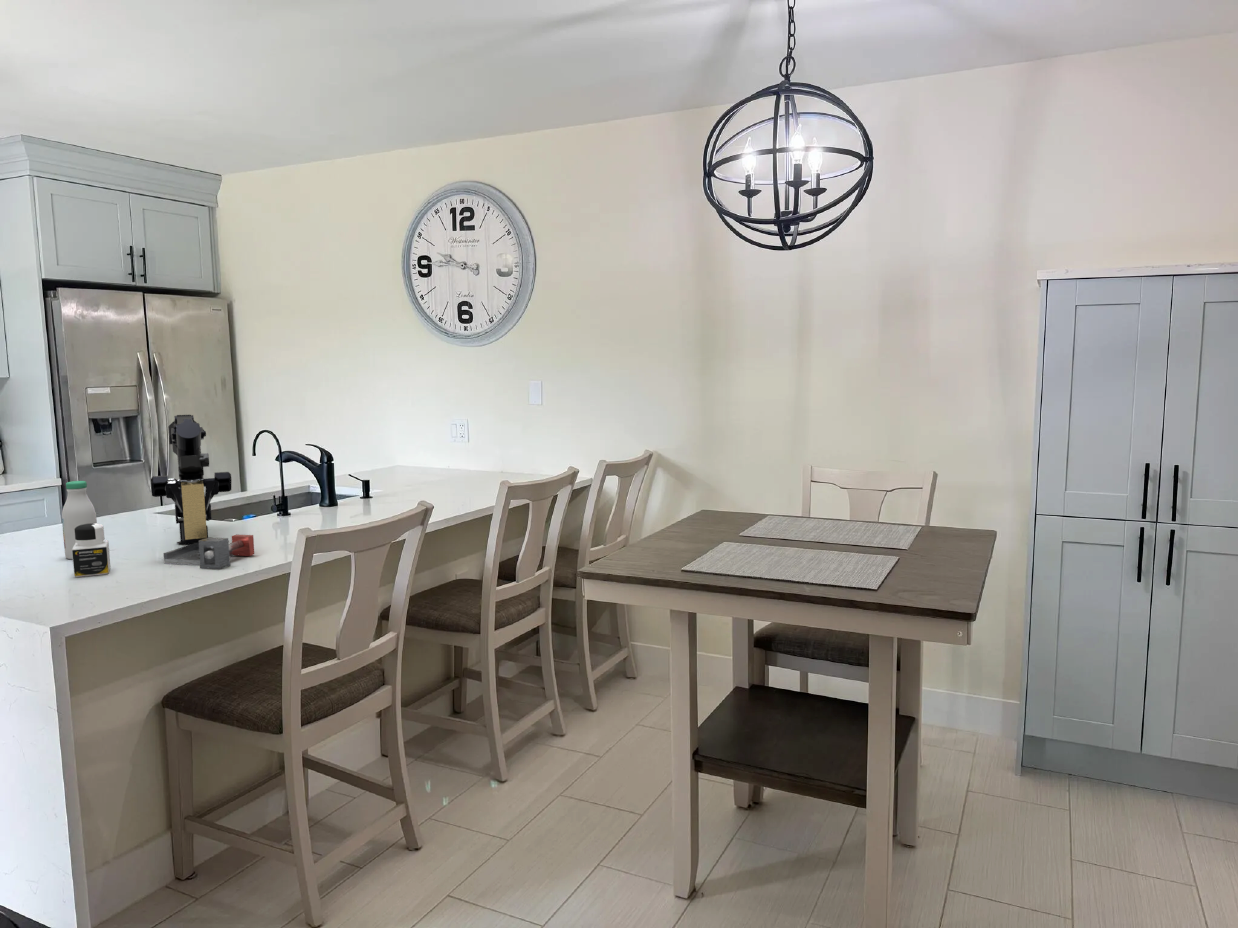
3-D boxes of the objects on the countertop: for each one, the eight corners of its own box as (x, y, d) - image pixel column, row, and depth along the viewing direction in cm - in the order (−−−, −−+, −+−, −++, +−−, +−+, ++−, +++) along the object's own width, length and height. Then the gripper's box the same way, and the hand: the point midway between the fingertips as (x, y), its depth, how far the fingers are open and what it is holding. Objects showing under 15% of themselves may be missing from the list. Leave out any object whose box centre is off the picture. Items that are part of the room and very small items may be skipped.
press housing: (200, 568, 213) (198, 540, 212) (210, 564, 216) (208, 537, 216) (220, 569, 212) (218, 541, 211) (230, 565, 215) (228, 538, 215)
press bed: (164, 563, 217) (163, 553, 217) (196, 552, 229) (195, 542, 229) (206, 565, 215) (205, 555, 215) (235, 554, 227) (235, 544, 226)
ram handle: (199, 567, 212) (198, 547, 211) (237, 553, 227) (236, 534, 226) (217, 568, 211) (216, 547, 210) (254, 554, 226) (253, 535, 225)
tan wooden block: (184, 535, 221) (180, 479, 219) (206, 533, 223) (202, 477, 221) (185, 539, 217) (181, 482, 214) (207, 537, 219) (203, 481, 217)
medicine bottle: (74, 577, 204) (69, 528, 202) (77, 571, 210) (73, 523, 209) (108, 574, 207) (104, 525, 206) (110, 567, 214) (106, 520, 212)
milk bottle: (106, 554, 228) (100, 480, 225) (80, 560, 221) (73, 484, 218) (85, 552, 230) (78, 479, 228) (58, 558, 223) (51, 483, 220)
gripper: (147, 445, 216) (150, 495, 208) (228, 441, 224) (234, 489, 216) (150, 471, 224) (153, 520, 216) (228, 466, 232) (233, 513, 224)
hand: (194, 510), depth 218 cm, fingers closed on tan wooden block, 5 cm apart
